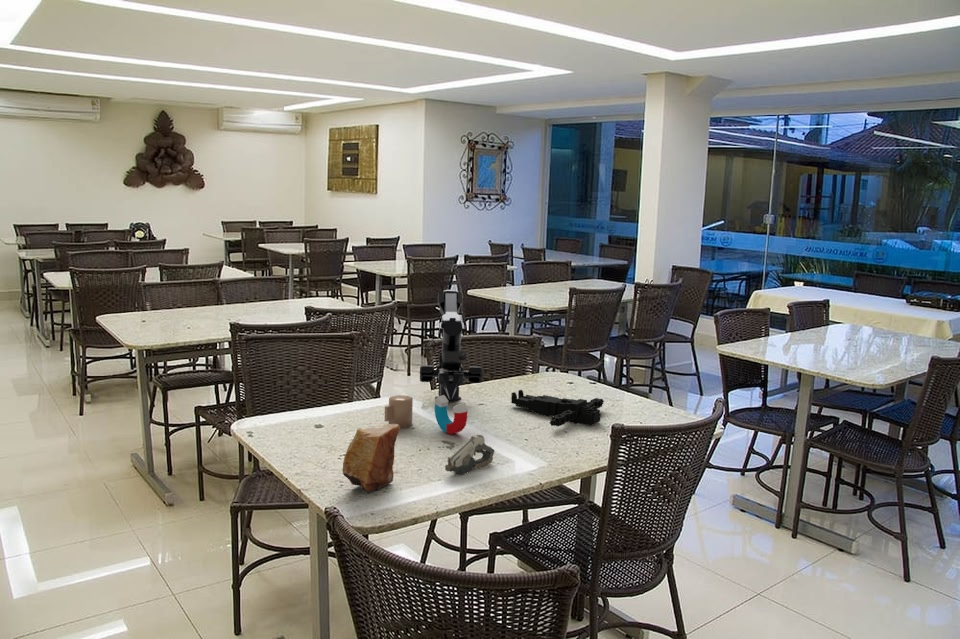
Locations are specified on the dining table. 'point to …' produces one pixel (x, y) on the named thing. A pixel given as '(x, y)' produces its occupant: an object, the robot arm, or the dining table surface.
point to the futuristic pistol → (470, 456)
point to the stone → (371, 457)
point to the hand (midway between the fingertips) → (450, 398)
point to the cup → (399, 411)
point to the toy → (561, 408)
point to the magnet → (444, 420)
